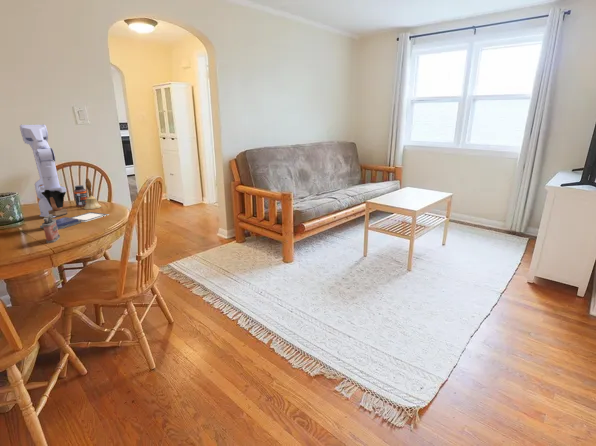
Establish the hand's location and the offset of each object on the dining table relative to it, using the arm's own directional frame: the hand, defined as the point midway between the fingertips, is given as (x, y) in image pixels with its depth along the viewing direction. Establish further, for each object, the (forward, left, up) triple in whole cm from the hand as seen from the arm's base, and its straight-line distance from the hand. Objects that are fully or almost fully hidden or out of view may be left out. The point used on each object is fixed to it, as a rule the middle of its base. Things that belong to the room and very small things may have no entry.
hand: (57, 206), depth 151 cm
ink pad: (0, 0, -9) cm, 9 cm away
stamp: (0, 0, -4) cm, 4 cm away
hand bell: (-16, +28, -9) cm, 33 cm away
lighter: (+16, -14, -9) cm, 23 cm away
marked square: (-1, +14, -9) cm, 17 cm away
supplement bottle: (-25, +29, -9) cm, 39 cm away
